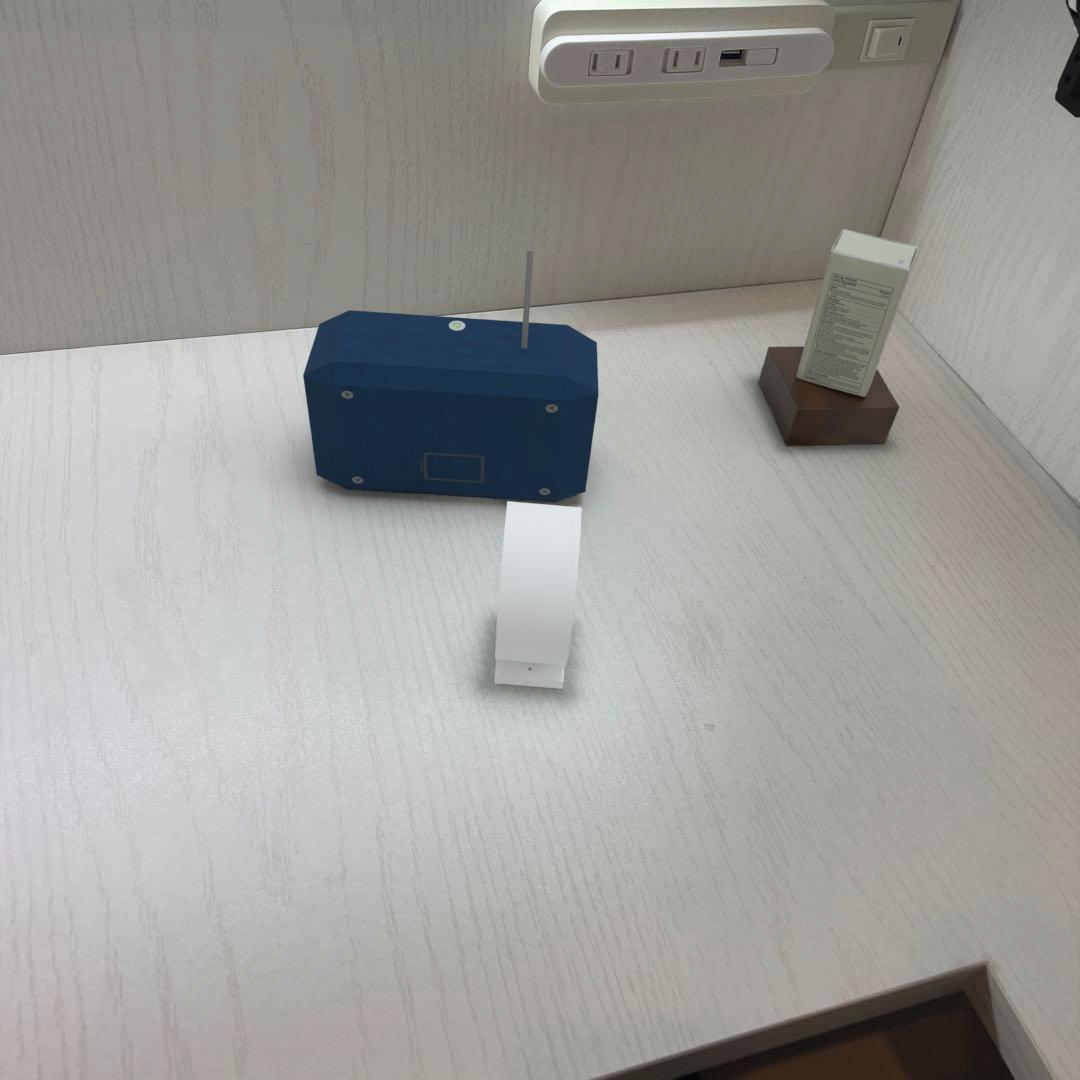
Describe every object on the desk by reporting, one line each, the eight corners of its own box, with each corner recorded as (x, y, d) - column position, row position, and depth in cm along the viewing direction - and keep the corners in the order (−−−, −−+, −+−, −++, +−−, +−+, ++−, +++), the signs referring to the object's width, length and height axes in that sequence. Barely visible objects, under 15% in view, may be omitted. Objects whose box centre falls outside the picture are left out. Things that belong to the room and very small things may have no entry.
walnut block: (850, 381, 91) (863, 345, 88) (884, 443, 85) (900, 407, 82) (758, 382, 90) (768, 346, 87) (786, 446, 83) (797, 409, 81)
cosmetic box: (874, 373, 85) (923, 246, 76) (865, 400, 82) (914, 271, 73) (803, 352, 86) (843, 225, 78) (791, 377, 84) (830, 248, 75)
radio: (582, 440, 82) (610, 221, 68) (583, 512, 76) (614, 288, 62) (335, 424, 82) (310, 200, 67) (316, 496, 75) (284, 266, 61)
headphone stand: (565, 630, 68) (582, 507, 59) (562, 702, 64) (579, 581, 55) (499, 624, 68) (507, 500, 59) (492, 696, 64) (498, 574, 55)
